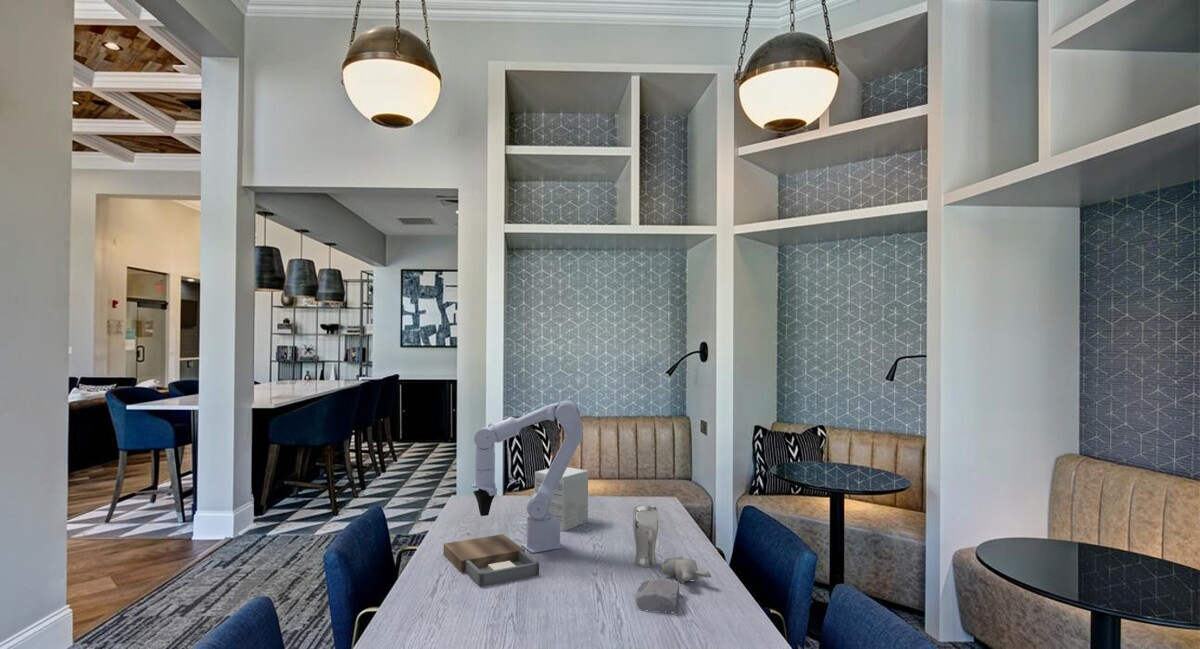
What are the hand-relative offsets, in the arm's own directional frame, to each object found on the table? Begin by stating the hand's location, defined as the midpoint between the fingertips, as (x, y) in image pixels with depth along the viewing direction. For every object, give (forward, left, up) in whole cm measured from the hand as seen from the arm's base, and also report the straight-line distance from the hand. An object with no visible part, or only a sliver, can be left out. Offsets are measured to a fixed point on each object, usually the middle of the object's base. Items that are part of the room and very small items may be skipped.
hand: (484, 515), depth 180 cm
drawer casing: (+3, +8, -9) cm, 13 cm away
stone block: (-22, +56, -10) cm, 61 cm away
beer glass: (-34, +34, -10) cm, 49 cm away
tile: (+3, +23, -7) cm, 25 cm away
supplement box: (-31, -11, -10) cm, 34 cm away
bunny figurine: (-36, +48, -10) cm, 61 cm away
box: (+3, +22, -9) cm, 24 cm away
